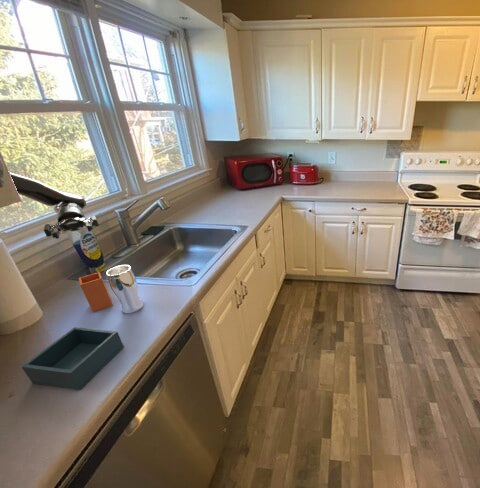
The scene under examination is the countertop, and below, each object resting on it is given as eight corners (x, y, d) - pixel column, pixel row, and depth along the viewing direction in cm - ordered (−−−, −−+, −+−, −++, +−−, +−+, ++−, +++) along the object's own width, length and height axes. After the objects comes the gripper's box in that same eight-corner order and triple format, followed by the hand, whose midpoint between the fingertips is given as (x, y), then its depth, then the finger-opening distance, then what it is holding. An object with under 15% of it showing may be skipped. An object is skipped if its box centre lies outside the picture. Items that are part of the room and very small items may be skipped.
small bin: (92, 312, 93) (80, 284, 89) (91, 304, 97) (78, 277, 92) (113, 305, 97) (101, 278, 92) (110, 298, 100) (99, 271, 96)
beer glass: (119, 316, 91) (102, 277, 85) (123, 304, 97) (108, 267, 90) (143, 311, 94) (129, 272, 87) (146, 299, 99) (133, 262, 93)
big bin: (32, 383, 69) (20, 366, 67) (82, 342, 81) (74, 327, 79) (80, 389, 67) (70, 373, 65) (124, 347, 79) (117, 331, 77)
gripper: (41, 213, 98) (38, 227, 87) (91, 204, 106) (95, 216, 95) (50, 232, 102) (49, 248, 91) (98, 222, 110) (103, 236, 99)
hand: (73, 232), depth 93 cm, fingers open, 8 cm apart
